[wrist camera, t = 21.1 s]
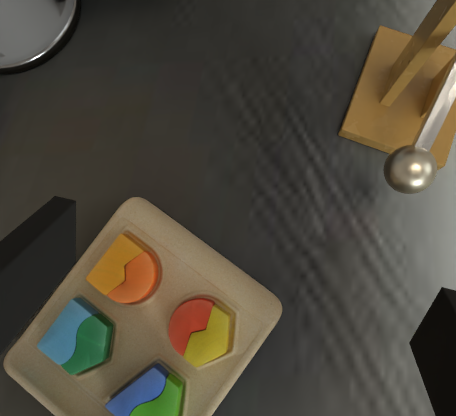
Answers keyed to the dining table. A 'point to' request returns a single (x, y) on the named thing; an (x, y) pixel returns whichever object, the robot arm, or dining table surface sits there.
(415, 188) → the tap lever
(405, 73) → the wooden lever stand
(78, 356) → the puzzle board
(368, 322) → the dining table surface
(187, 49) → the dining table surface
